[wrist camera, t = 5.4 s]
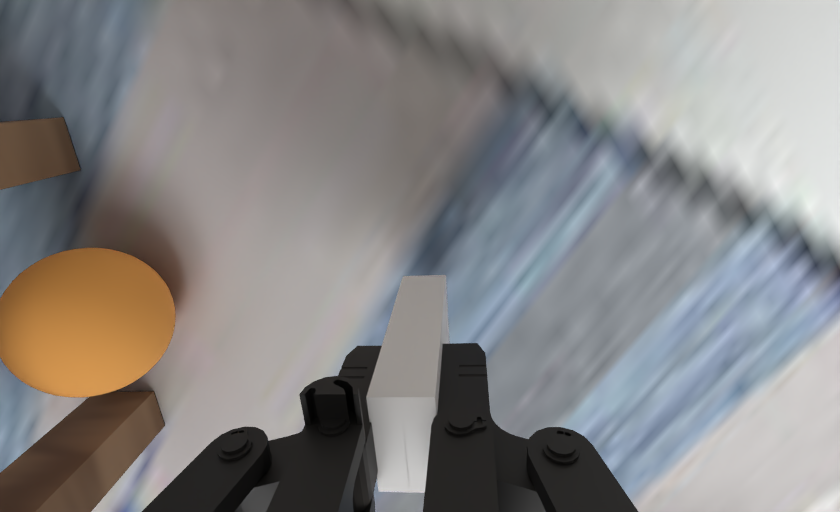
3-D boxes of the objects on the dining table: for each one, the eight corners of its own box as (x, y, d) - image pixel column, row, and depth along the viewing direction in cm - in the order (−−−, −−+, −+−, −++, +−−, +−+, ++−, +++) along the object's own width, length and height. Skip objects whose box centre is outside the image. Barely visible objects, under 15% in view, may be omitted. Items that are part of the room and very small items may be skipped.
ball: (11, 393, 18) (51, 455, 15) (-49, 262, 16) (-18, 300, 13) (156, 332, 22) (215, 370, 19) (122, 221, 20) (180, 242, 17)
